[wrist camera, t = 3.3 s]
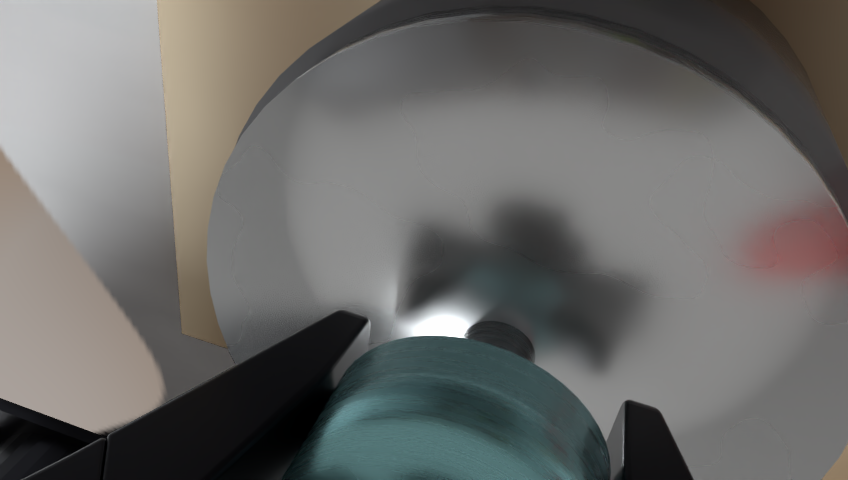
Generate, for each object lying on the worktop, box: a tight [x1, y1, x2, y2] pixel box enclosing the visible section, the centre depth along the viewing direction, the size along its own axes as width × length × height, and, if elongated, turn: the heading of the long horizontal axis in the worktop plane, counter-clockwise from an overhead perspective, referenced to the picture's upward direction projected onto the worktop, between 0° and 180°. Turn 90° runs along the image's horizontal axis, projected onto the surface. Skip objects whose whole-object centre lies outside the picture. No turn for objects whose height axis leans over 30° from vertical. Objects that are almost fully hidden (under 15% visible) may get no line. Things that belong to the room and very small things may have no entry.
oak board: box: [157, 0, 848, 480], centre depth 13 cm, size 18×13×1 cm
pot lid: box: [207, 5, 848, 480], centre depth 8 cm, size 9×9×4 cm
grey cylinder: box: [236, 0, 848, 222], centre depth 11 cm, size 12×9×4 cm
